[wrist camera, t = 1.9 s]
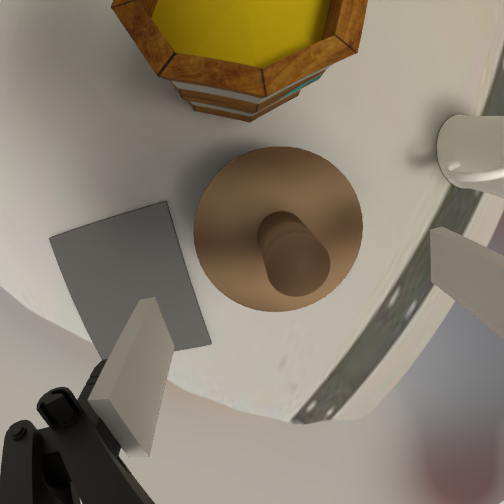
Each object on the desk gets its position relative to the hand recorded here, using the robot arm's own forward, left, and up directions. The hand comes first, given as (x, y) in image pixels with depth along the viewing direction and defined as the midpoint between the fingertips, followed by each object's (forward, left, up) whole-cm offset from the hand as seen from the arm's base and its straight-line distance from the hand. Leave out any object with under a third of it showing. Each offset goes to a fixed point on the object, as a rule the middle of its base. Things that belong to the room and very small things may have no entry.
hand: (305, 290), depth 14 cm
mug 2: (-2, +22, -18) cm, 28 cm away
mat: (+5, -16, -17) cm, 24 cm away
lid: (0, 0, -9) cm, 9 cm away
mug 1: (-17, +3, -18) cm, 25 cm away
